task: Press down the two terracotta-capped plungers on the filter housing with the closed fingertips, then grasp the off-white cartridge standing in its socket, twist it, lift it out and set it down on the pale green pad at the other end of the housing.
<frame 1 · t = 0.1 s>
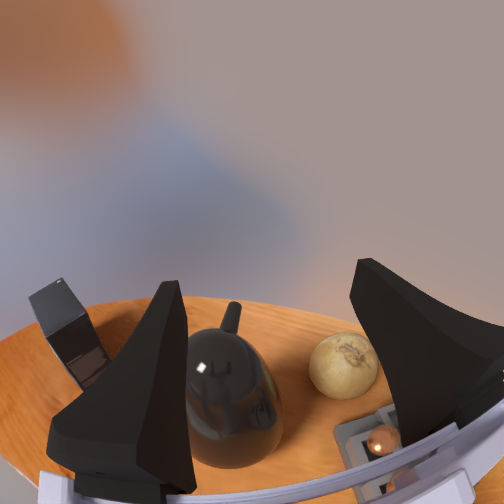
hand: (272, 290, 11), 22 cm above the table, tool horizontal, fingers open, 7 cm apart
pump dispenser: (233, 435, 25), on the table
onion: (339, 380, 30), on the table
small box: (85, 360, 33), on the table
housing: (405, 465, 19), on the table
plunger a: (380, 444, 18), point 5 cm above the table, slide at 0.0 cm
plunger b: (399, 489, 14), point 5 cm above the table, slide at 0.0 cm
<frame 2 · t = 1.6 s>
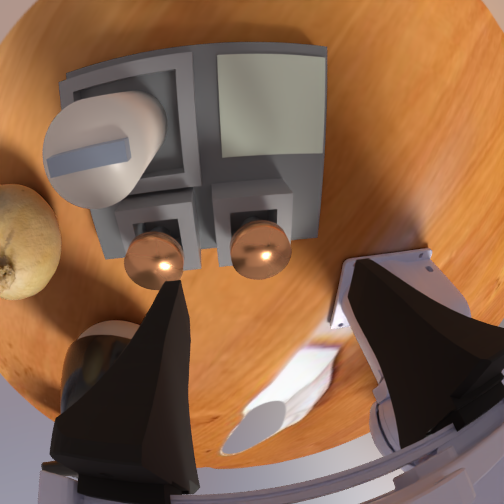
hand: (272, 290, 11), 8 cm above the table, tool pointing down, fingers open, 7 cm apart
pump dispenser: (126, 339, 24), on the table
onion: (29, 220, 16), on the table
housing: (199, 147, 16), on the table
plunger a: (156, 249, 14), point 5 cm above the table, slide at 0.0 cm
cartridge: (131, 127, 13), point 2 cm above the table, touching housing
plunger b: (256, 239, 14), point 5 cm above the table, slide at 0.0 cm
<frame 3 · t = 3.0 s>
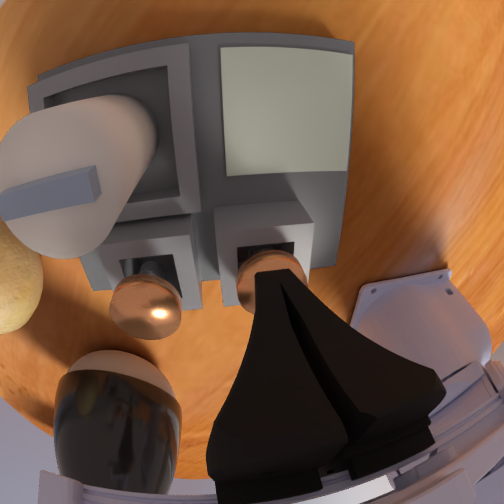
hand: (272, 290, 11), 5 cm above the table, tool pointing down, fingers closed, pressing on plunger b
pump dispenser: (122, 366, 21), on the table
onion: (10, 242, 14), on the table
housing: (199, 162, 13), on the table
plunger a: (148, 291, 11), point 5 cm above the table, slide at 0.0 cm
cartridge: (114, 138, 10), point 2 cm above the table, touching housing
plunger b: (266, 269, 12), point 4 cm above the table, slide at 0.7 cm, touching gripper
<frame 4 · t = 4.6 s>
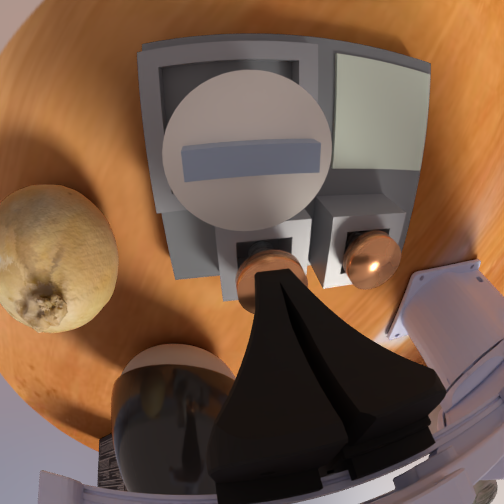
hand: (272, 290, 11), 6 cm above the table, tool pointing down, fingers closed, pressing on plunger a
pump dispenser: (177, 361, 22), on the table
onion: (67, 230, 14), on the table
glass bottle: (430, 392, 40), on the table
small box: (130, 438, 32), on the table
housing: (298, 153, 14), on the table
plunger a: (266, 269, 12), point 4 cm above the table, slide at 0.3 cm, touching gripper
cartridge: (230, 121, 11), point 2 cm above the table, touching housing
plunger b: (363, 249, 13), point 4 cm above the table, slide at 1.0 cm
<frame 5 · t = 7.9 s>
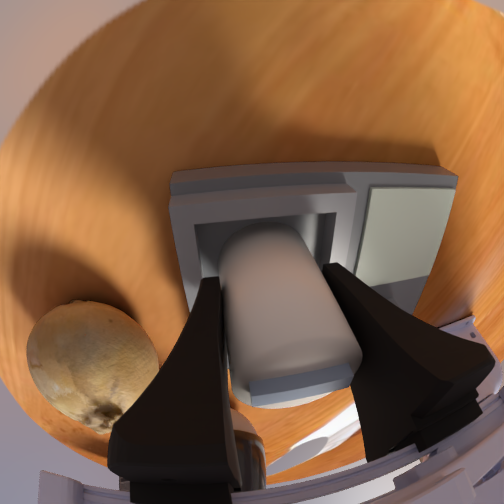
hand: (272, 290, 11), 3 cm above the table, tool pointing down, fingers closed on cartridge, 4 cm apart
pump dispenser: (201, 412, 24), on the table
onion: (101, 325, 16), on the table
housing: (321, 268, 15), on the table
cartridge: (263, 262, 13), point 2 cm above the table, touching gripper, housing
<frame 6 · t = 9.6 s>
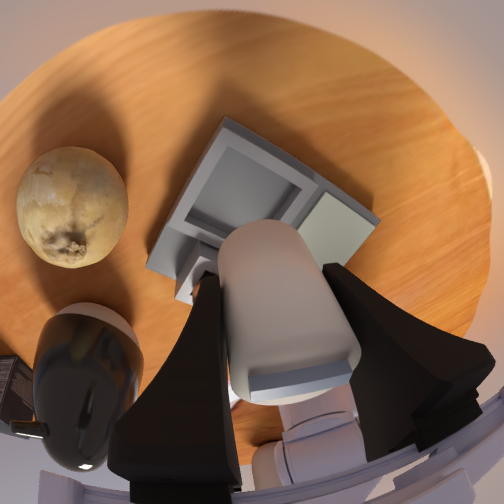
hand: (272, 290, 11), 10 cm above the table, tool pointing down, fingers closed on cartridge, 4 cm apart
pump dispenser: (98, 321, 25), on the table
onion: (86, 189, 18), on the table
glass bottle: (271, 442, 51), on the table
small box: (11, 367, 28), on the table
housing: (264, 232, 22), on the table
plunger a: (213, 286, 19), point 4 cm above the table, slide at 1.0 cm
cartridge: (262, 259, 13), point 8 cm above the table, touching gripper
when the fingers open (5 cm above the table, at t = 11.4 s): cartridge drops 1 cm, resting on housing.
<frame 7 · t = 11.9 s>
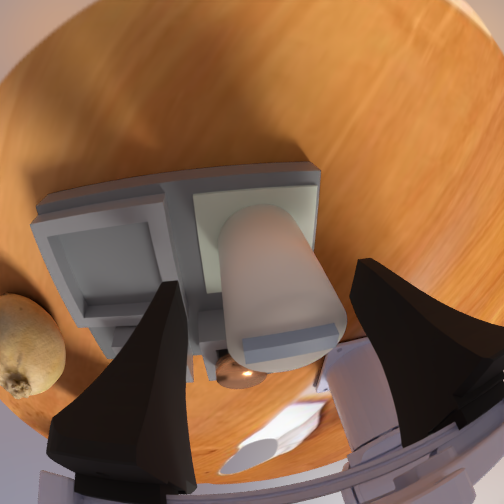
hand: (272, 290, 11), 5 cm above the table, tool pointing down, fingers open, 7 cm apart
onion: (30, 314, 17), on the table
housing: (185, 272, 16), on the table
cartridge: (259, 242, 14), point 2 cm above the table, touching housing
plunger b: (238, 356, 16), point 4 cm above the table, slide at 1.0 cm
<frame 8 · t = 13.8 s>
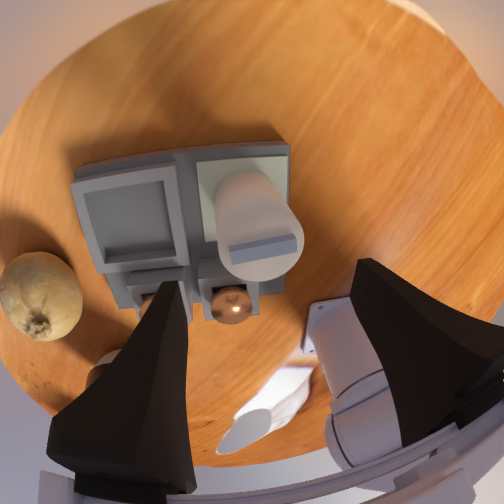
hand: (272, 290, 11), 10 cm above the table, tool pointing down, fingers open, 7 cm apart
pump dispenser: (135, 361, 29), on the table
onion: (52, 273, 21), on the table
housing: (188, 228, 21), on the table
plunger a: (160, 303, 20), point 4 cm above the table, slide at 1.0 cm
cartridge: (245, 199, 18), point 2 cm above the table, touching housing
plunger b: (230, 296, 20), point 4 cm above the table, slide at 1.0 cm
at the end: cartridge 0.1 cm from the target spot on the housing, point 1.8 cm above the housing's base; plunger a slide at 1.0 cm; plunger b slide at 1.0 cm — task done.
